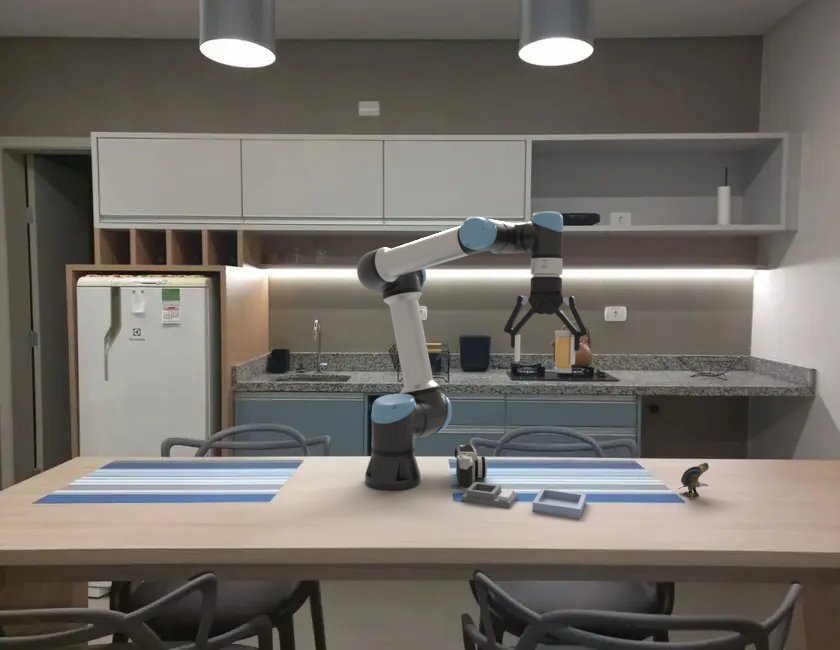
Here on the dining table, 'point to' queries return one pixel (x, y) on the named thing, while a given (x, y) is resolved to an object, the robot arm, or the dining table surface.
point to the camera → (469, 465)
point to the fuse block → (489, 495)
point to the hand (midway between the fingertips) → (544, 362)
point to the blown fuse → (563, 351)
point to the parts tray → (559, 503)
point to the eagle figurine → (693, 479)
